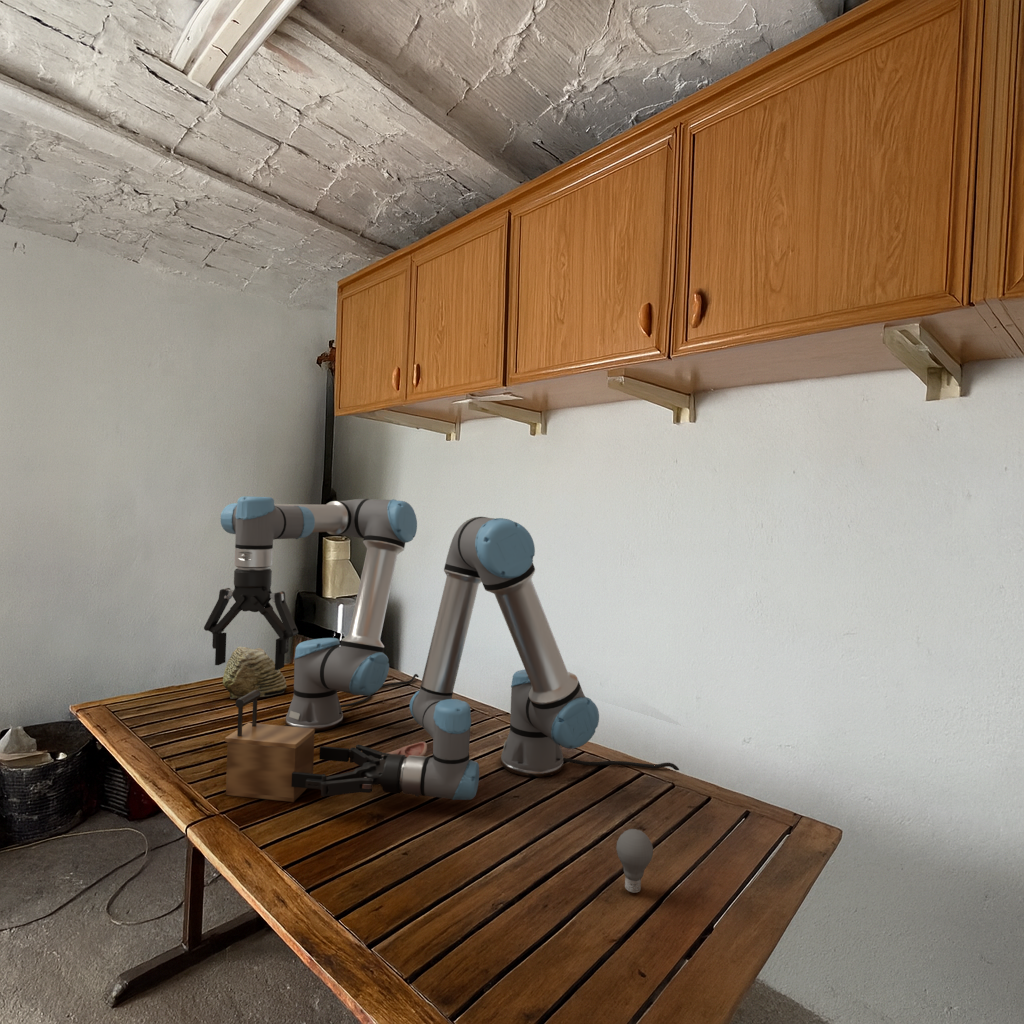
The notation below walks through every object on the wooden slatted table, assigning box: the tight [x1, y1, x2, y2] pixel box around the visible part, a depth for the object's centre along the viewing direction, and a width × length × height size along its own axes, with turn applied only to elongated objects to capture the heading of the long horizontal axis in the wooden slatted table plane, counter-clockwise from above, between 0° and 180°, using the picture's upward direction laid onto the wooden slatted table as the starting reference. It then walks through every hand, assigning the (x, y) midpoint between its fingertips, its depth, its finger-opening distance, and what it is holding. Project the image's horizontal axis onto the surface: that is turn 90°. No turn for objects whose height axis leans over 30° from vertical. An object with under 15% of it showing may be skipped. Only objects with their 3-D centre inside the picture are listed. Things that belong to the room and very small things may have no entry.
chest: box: [225, 732, 316, 803], centre depth 136 cm, size 15×9×11 cm, turn 83°
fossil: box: [222, 646, 288, 699], centre depth 198 cm, size 9×18×15 cm, turn 132°
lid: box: [224, 690, 316, 748], centre depth 136 cm, size 16×9×9 cm, turn 83°
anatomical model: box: [387, 741, 428, 757], centre depth 152 cm, size 13×4×12 cm
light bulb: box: [615, 828, 654, 894], centre depth 106 cm, size 6×6×10 cm
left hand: (249, 666), depth 137 cm, fingers open, 13 cm apart
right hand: (306, 765), depth 134 cm, fingers open, 13 cm apart
